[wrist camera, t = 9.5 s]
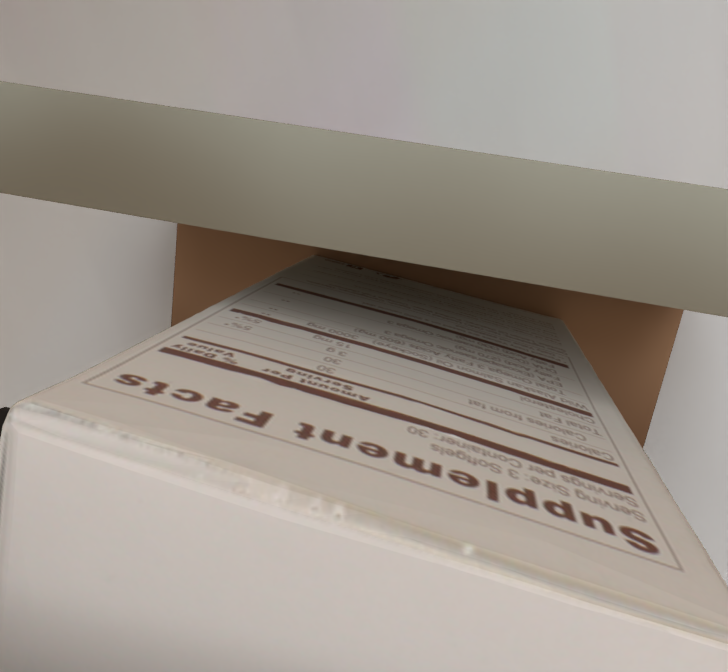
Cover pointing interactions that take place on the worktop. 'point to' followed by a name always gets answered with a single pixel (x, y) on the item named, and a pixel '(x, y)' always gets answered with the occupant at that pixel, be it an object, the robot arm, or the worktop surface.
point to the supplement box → (345, 499)
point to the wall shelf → (389, 219)
